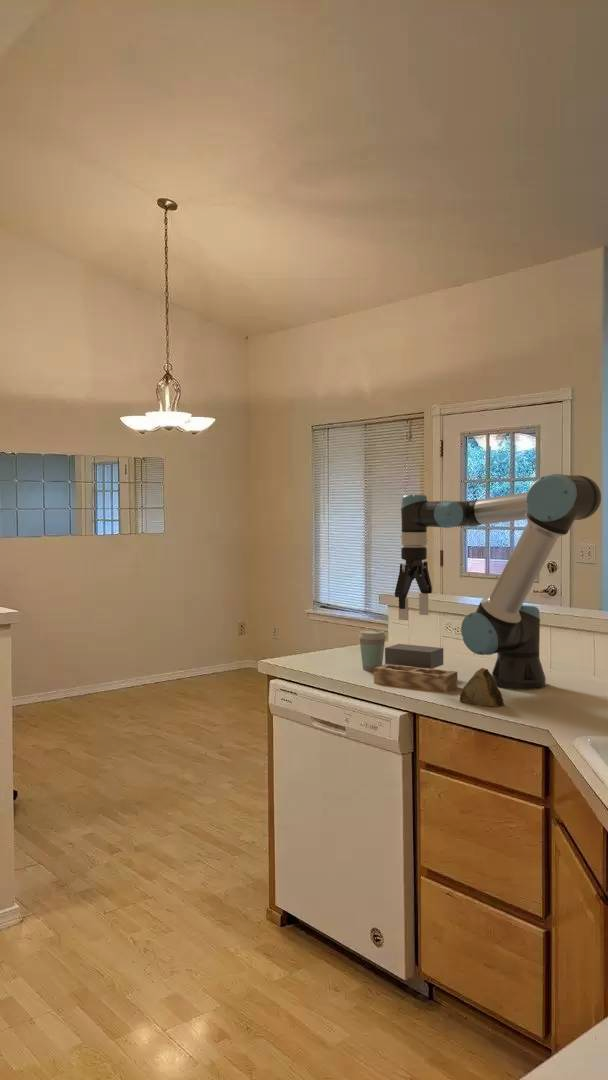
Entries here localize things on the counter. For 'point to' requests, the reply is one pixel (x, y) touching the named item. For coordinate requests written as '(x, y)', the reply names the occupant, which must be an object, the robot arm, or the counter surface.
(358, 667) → the counter surface
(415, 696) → the counter surface
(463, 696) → the rock
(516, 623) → the robot arm
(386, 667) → the brown long open box
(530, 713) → the counter surface
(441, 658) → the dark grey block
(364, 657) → the coffee cup
